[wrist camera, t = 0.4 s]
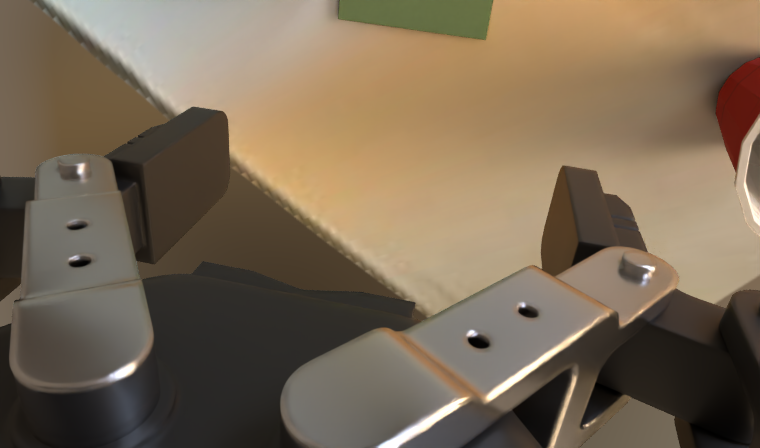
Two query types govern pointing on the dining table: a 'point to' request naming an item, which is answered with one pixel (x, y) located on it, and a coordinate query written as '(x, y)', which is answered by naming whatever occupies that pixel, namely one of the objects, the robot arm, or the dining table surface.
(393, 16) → the cloth
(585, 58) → the dining table surface
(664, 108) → the dining table surface
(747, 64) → the plastic cup
